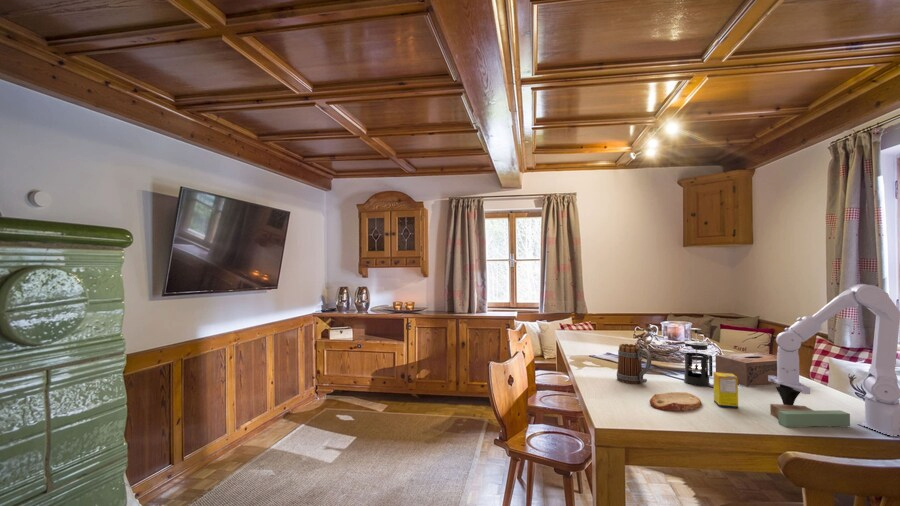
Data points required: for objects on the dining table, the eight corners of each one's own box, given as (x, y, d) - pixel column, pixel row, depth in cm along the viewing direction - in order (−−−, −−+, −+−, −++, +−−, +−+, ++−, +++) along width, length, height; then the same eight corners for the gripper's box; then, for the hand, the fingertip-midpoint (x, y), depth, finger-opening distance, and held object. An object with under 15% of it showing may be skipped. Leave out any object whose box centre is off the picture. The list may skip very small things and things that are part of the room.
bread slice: (697, 399, 154) (696, 389, 154) (711, 416, 136) (711, 405, 136) (644, 394, 159) (644, 385, 159) (652, 410, 142) (652, 399, 142)
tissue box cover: (761, 374, 189) (761, 352, 190) (794, 383, 175) (793, 359, 176) (715, 377, 183) (715, 355, 183) (746, 387, 169) (745, 362, 169)
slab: (817, 423, 130) (817, 412, 130) (781, 420, 132) (780, 409, 132) (804, 416, 136) (804, 405, 136) (770, 414, 138) (770, 403, 138)
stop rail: (850, 426, 127) (849, 413, 127) (786, 427, 127) (786, 414, 127) (840, 423, 130) (840, 410, 130) (778, 423, 130) (778, 410, 130)
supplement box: (732, 403, 148) (731, 372, 149) (738, 408, 143) (738, 377, 143) (713, 401, 150) (712, 371, 150) (718, 407, 144) (718, 375, 145)
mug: (611, 378, 180) (610, 344, 180) (628, 376, 184) (628, 342, 185) (641, 388, 166) (640, 351, 166) (659, 385, 170) (659, 349, 171)
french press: (691, 386, 169) (690, 330, 169) (677, 380, 178) (677, 326, 179) (719, 386, 169) (718, 330, 170) (704, 379, 179) (703, 326, 179)
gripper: (759, 362, 145) (759, 401, 145) (794, 374, 131) (795, 417, 130) (779, 363, 145) (779, 401, 145) (816, 374, 131) (817, 417, 130)
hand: (788, 409), depth 138 cm, fingers closed
